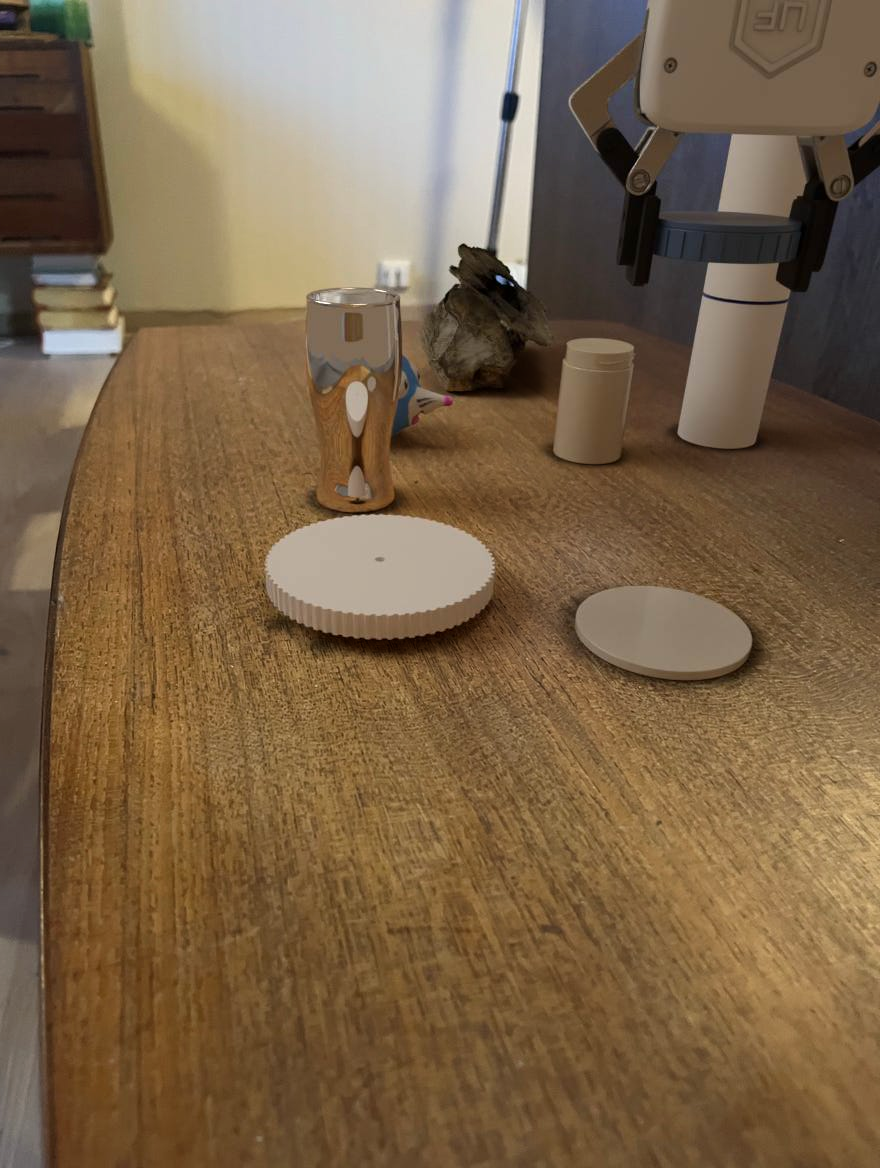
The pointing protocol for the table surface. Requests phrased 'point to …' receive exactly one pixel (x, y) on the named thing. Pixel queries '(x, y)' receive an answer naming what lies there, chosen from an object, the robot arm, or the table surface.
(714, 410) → the cylindrical container
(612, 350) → the jar
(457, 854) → the table surface
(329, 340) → the beer glass
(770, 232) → the lid
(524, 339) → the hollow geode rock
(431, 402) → the blue toy animal
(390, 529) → the plastic lid
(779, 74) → the robot arm
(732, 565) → the table surface
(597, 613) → the coaster
